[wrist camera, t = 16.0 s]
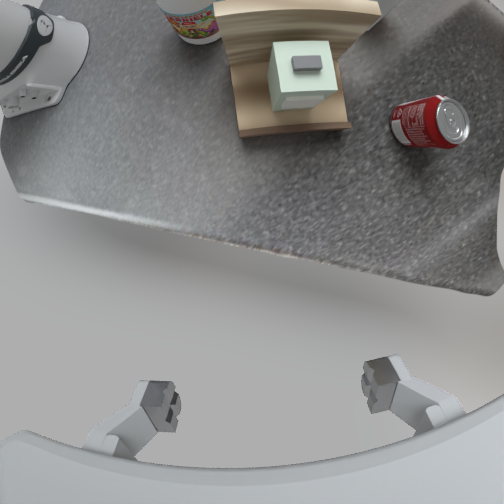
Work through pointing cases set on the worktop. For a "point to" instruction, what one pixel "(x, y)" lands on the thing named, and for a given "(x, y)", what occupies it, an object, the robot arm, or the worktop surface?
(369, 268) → the worktop surface
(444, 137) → the soda can
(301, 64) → the mint juice carton
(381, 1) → the skincare box
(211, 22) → the milk bottle
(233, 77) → the board
